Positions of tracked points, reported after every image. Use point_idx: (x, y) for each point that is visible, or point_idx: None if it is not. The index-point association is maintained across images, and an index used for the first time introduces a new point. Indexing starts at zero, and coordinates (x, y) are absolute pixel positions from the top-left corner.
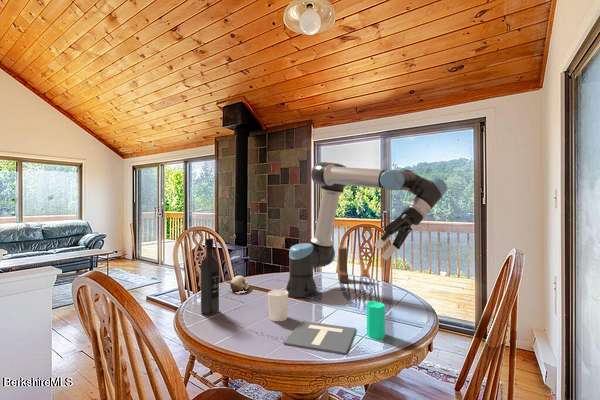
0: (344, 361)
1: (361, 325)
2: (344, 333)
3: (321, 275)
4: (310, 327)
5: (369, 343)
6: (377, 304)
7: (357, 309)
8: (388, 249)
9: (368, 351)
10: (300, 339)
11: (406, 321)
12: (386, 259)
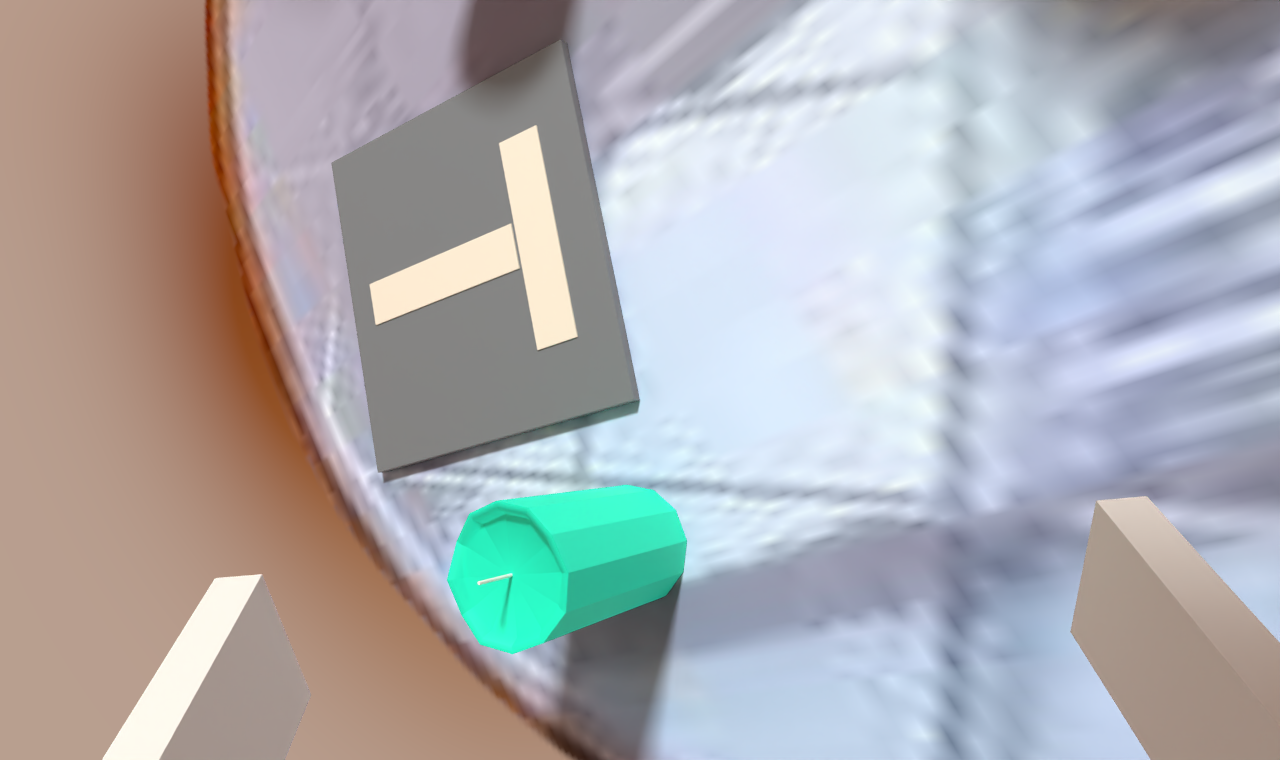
0: (342, 488)
1: (725, 403)
2: (537, 370)
3: None
4: (508, 153)
5: None
6: (539, 582)
7: (1053, 217)
8: (1257, 755)
9: None
10: (383, 208)
11: (1008, 722)
12: (1081, 639)
